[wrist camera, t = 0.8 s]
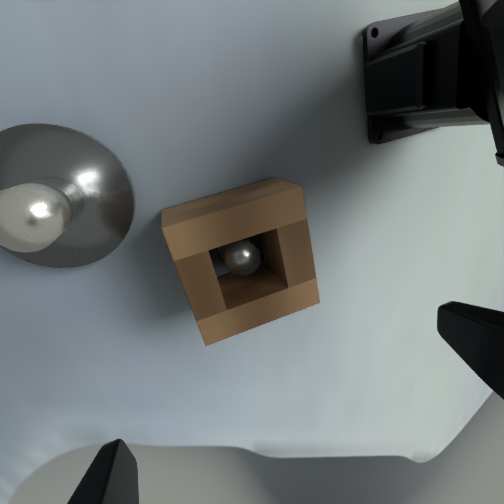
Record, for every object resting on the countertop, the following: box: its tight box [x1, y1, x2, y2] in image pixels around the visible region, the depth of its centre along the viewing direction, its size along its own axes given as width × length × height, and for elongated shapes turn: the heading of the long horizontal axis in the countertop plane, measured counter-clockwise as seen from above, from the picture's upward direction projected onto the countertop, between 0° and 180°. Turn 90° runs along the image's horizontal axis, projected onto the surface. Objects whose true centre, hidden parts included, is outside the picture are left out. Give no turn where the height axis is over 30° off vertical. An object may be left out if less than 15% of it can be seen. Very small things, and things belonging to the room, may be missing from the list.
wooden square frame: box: [161, 177, 320, 346], centre depth 17 cm, size 7×7×4 cm
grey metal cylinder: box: [219, 238, 261, 276], centre depth 18 cm, size 2×2×2 cm
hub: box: [0, 124, 135, 268], centre depth 13 cm, size 7×7×5 cm
